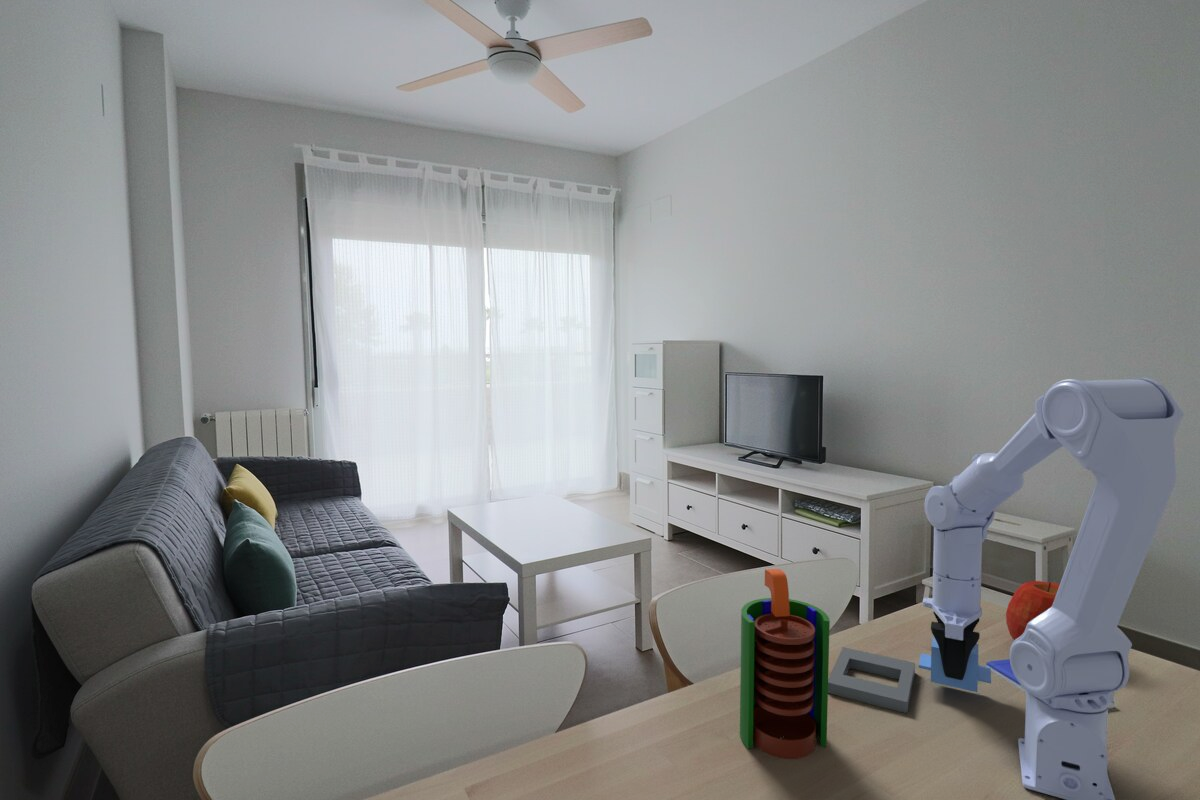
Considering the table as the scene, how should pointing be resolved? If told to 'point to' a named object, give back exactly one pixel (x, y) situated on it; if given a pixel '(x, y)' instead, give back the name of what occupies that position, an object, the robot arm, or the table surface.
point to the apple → (1029, 605)
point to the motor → (783, 672)
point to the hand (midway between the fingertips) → (954, 670)
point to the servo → (938, 676)
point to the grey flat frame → (867, 689)
